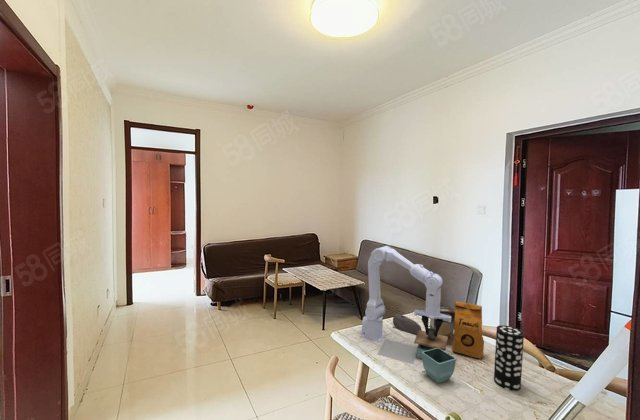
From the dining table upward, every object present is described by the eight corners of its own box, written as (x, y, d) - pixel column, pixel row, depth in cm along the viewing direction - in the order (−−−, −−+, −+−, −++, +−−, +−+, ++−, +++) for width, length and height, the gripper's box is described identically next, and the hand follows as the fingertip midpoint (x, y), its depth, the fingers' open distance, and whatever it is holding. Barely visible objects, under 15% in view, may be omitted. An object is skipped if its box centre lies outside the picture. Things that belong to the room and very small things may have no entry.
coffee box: (432, 345, 134) (434, 310, 133) (428, 338, 140) (430, 305, 139) (453, 346, 133) (455, 312, 132) (448, 339, 139) (450, 306, 138)
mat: (376, 355, 124) (376, 354, 124) (385, 339, 138) (385, 339, 138) (413, 364, 118) (413, 363, 118) (418, 347, 131) (418, 347, 131)
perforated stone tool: (423, 335, 144) (424, 321, 143) (418, 338, 140) (419, 324, 140) (397, 324, 155) (397, 311, 154) (391, 327, 151) (392, 314, 151)
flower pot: (420, 374, 112) (421, 351, 111) (437, 369, 115) (438, 347, 115) (438, 388, 103) (439, 363, 103) (455, 382, 107) (457, 358, 107)
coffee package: (482, 362, 121) (485, 310, 119) (450, 353, 127) (452, 303, 126) (484, 352, 129) (486, 303, 128) (453, 343, 136) (455, 297, 134)
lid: (414, 343, 122) (414, 331, 121) (418, 331, 132) (419, 321, 132) (445, 350, 116) (445, 339, 116) (447, 338, 127) (448, 327, 126)
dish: (416, 358, 122) (417, 348, 122) (420, 347, 131) (420, 338, 131) (442, 365, 118) (442, 354, 118) (444, 353, 127) (444, 343, 126)
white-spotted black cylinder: (521, 394, 101) (524, 338, 100) (493, 385, 106) (496, 331, 105) (520, 381, 108) (523, 329, 107) (494, 374, 113) (496, 323, 112)
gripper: (413, 303, 123) (412, 334, 124) (451, 310, 117) (449, 343, 117) (416, 298, 129) (415, 328, 130) (452, 304, 123) (450, 335, 124)
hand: (431, 334), depth 124 cm, fingers closed on lid, 3 cm apart
